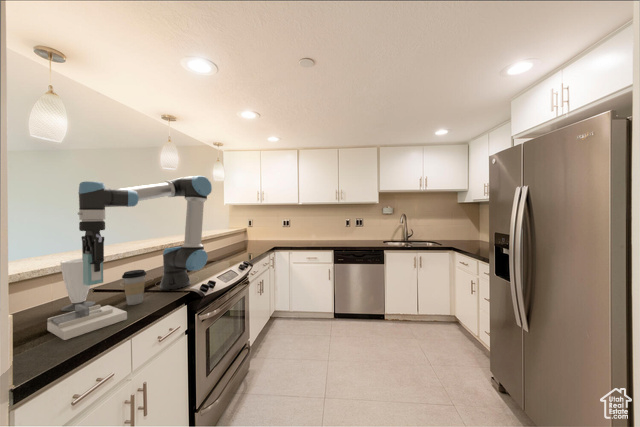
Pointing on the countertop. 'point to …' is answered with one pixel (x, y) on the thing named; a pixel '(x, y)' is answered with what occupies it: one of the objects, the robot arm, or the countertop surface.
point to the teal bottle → (89, 269)
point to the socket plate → (87, 321)
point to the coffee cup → (134, 286)
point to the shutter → (73, 314)
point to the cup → (75, 283)
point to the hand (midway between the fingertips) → (93, 279)
